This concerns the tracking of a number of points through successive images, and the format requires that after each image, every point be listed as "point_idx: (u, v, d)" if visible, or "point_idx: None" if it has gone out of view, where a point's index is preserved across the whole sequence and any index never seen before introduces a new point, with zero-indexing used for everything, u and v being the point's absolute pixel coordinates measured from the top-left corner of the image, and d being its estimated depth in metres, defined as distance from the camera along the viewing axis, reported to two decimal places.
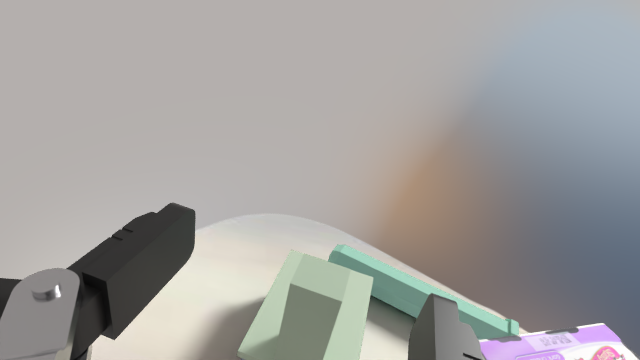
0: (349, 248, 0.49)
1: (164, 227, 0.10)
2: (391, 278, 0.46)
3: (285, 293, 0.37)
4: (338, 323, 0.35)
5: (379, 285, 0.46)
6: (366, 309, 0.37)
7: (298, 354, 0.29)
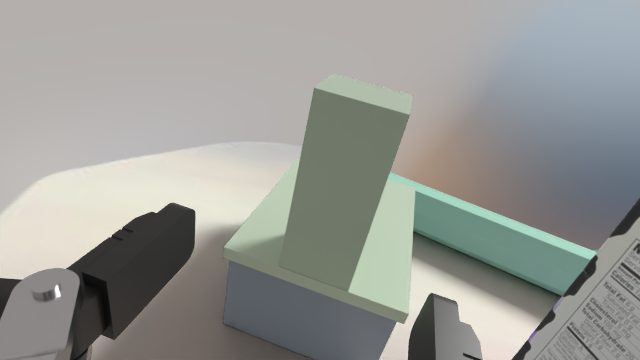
0: None
1: (164, 227, 0.10)
2: (434, 200, 0.35)
3: None
4: (375, 228, 0.24)
5: (418, 209, 0.35)
6: (411, 217, 0.26)
7: (321, 242, 0.18)
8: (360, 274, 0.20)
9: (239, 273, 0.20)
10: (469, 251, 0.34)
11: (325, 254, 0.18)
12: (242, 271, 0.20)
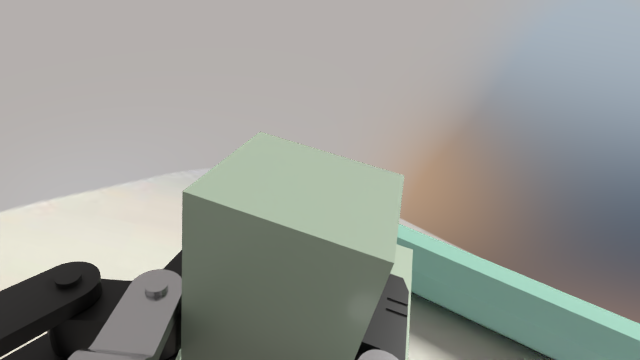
0: None
1: None
2: (437, 257, 0.27)
3: None
4: None
5: (417, 269, 0.27)
6: None
7: None
8: None
9: None
10: (483, 324, 0.26)
11: None
12: None
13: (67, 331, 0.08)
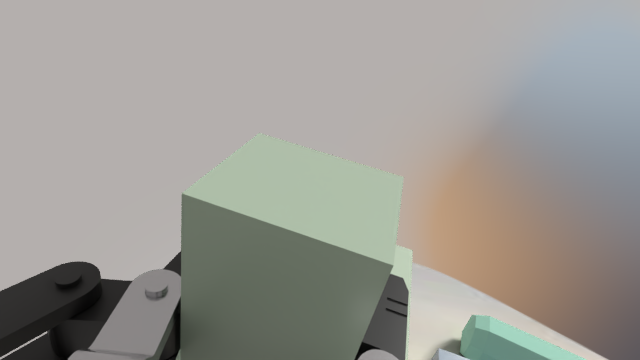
0: (498, 323, 0.32)
1: None
2: None
3: None
4: None
5: None
6: None
7: None
8: None
9: None
10: None
11: None
12: None
13: (67, 331, 0.08)
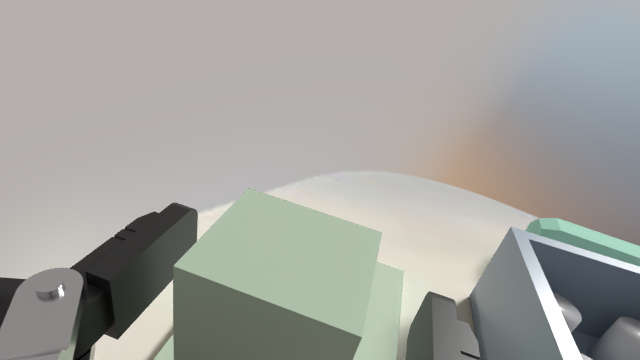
0: (568, 224, 0.26)
1: (167, 227, 0.10)
2: None
3: None
4: None
5: None
6: (396, 331, 0.19)
7: None
8: None
9: None
10: None
11: None
12: None
13: None
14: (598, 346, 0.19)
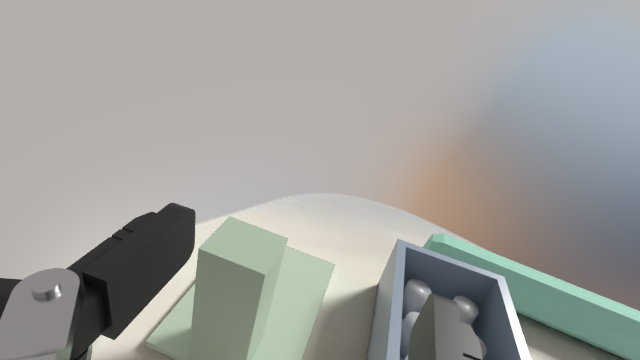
0: (451, 238, 0.38)
1: (164, 227, 0.10)
2: (518, 275, 0.35)
3: None
4: (283, 314, 0.29)
5: None
6: (321, 299, 0.31)
7: (217, 346, 0.22)
8: None
9: None
10: (553, 325, 0.35)
11: (221, 354, 0.23)
12: None
13: None
14: None
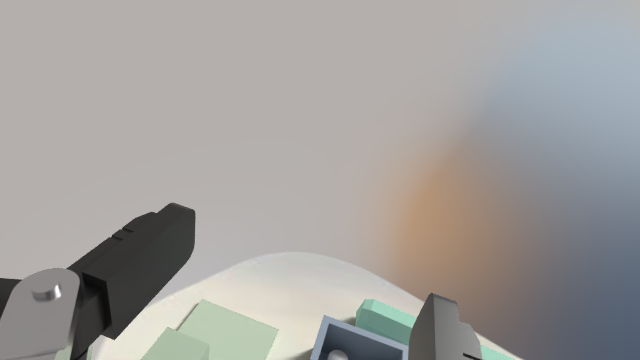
0: (379, 304, 0.45)
1: (164, 227, 0.10)
2: None
3: None
4: None
5: None
6: None
7: None
8: None
9: None
10: None
11: None
12: None
13: None
14: None
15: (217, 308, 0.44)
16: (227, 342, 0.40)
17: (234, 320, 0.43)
